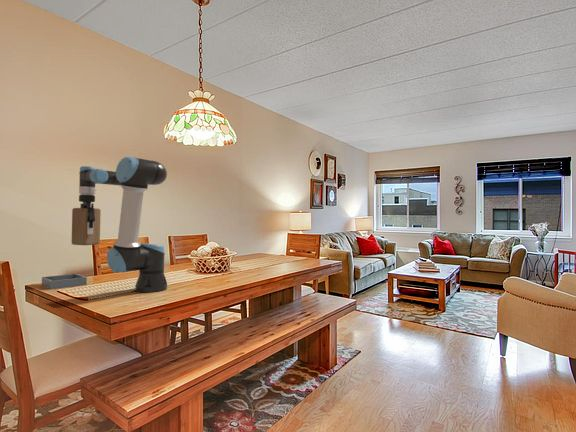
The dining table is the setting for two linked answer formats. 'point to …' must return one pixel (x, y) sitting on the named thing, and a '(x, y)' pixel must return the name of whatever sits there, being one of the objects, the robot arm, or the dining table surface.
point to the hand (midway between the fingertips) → (86, 233)
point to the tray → (64, 281)
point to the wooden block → (85, 227)
